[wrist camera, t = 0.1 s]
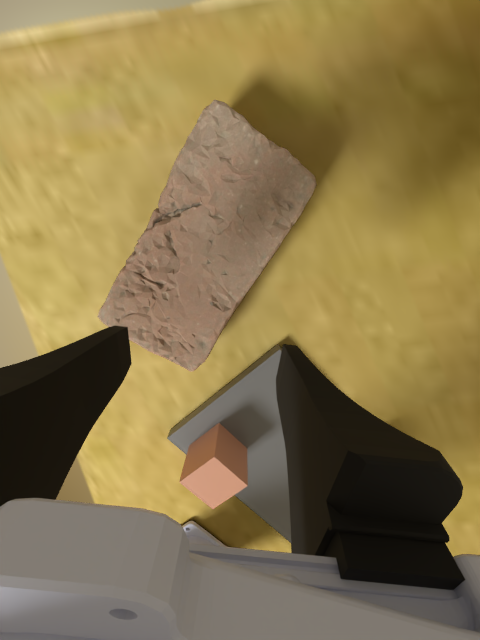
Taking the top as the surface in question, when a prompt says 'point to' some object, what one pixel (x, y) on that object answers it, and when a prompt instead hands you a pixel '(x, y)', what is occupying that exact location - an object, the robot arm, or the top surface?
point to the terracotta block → (215, 467)
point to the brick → (207, 237)
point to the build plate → (250, 437)
